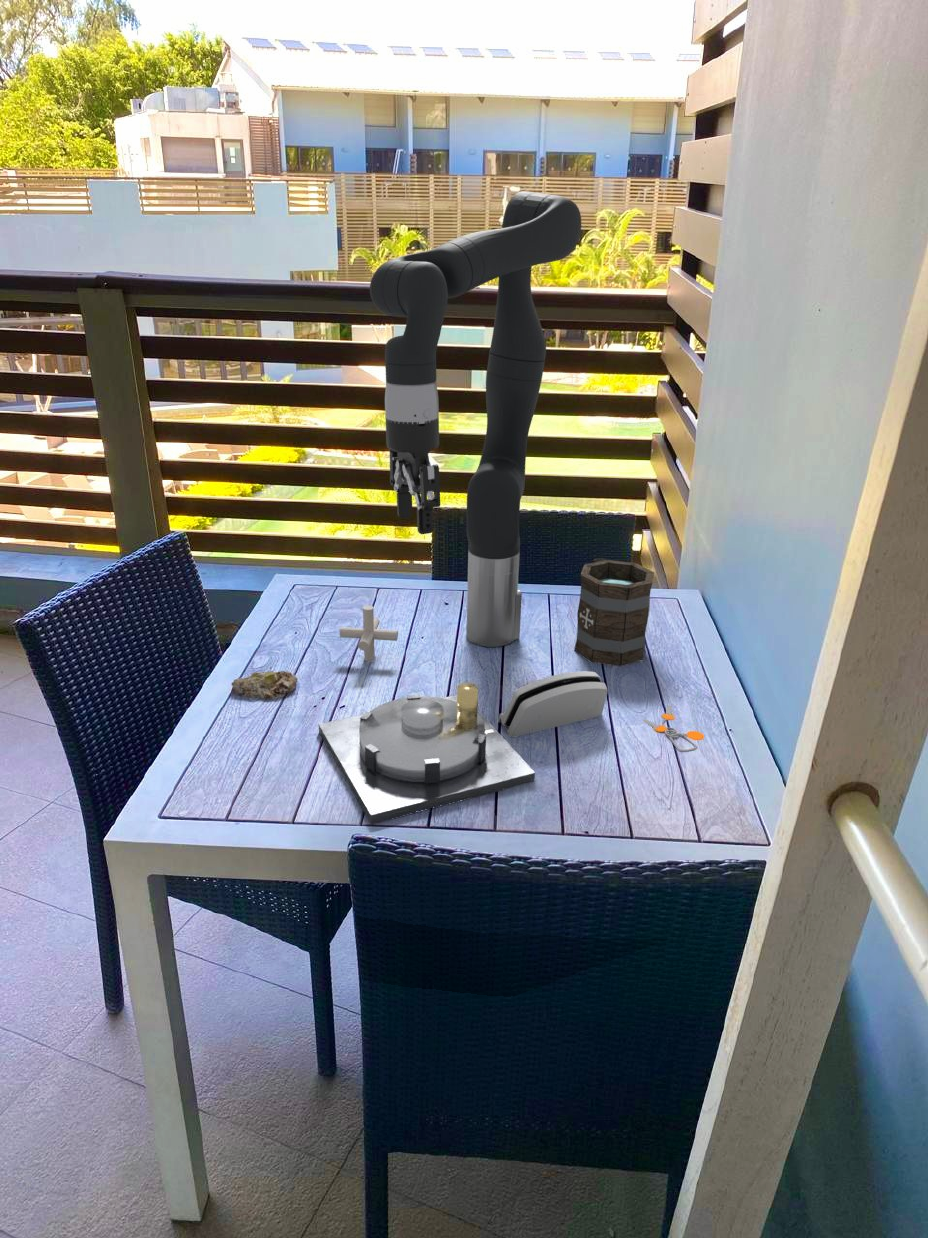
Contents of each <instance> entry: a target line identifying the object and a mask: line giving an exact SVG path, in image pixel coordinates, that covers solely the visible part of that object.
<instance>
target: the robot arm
mask: <svg viewBox="0 0 928 1238" xmlns="http://www.w3.org/2000/svg"><path fill="white" fill-rule="evenodd" d="M581 231H582V216H581V211H580V209H579V207H578V205H577V204H576V202H574V201H573V200H572V199H570V198H568V197H565V196H562V195H556V194H550V193H542V192H536V191H535V192H534V191H524V190H523V191H518V192H516V193H515V194H514V195H513V196H511V198H510V199H509V201H508V203H507V205H506V207H505V211H504V214H503V219H502V223H501V228H496V229H488V230H480V231H476V232H471V233H467V234H464V235H460V236H459V237H456V238H453V239H451V240H449V241H447V242H445V243H441V244H440V245H437V246H436V247H435V248H432V249H429V250H424V251H419V252H414V253H410V254H405V255H402V256H398V257H395V258H392V259H390V260H389V259H388V260H387V261H386V262H383V263H382V264H381V265H379V267H377V269H375V272H374V274H373V275H372V277H371V280H370V283H369V295H370V299H371V300H372V301H371V302H372V303H373V305H374V306H375V307H376V309H377V310H379V311H380V312H381V313H382V314H385V315H387V316H390V317H394V318H396V317H397V318H406V324H405V328H404V331H403V334H402V335H398V336H394V337H392V338H390V339H389V340H387V341H386V344H385V347H384V363H385V364H384V365H385V392H384V413H385V416H384V417H385V436H386V437H385V438H386V440H385V441H386V443H385V444H386V448H388V449H389V450H388V451H389V472H390V473H389V483H390V486H393V490H394V492H395V493H396V508H397V510H396V511H397V513H396V514H397V516H398V517H399V518H408V517H412V515H413V497H414V500H415V503H416V525H417V526H416V527H417V529H416V530H417V532H418V533H419V534H420V535H427V534H428V535H429V534H431V533H433V532H434V509H435V508H440V507H441V487H440V486H441V483H440V466H439V464H431V461H430V456H429V453H431V451H434V450H436V449H437V448H439V446H440V415H439V412H440V410H439V409H440V408H439V407H440V406H439V404H440V403H439V392H438V385H437V348H438V344H439V341H440V338H441V332H442V327H443V324H444V320H445V315H446V311H447V305H448V299H452V298H453V299H454V298H457V297H459V296H461V295H464V294H466V293H468V292H470V291H472V290H474V289H476V288H477V287H479V286H481V285H484V284H486V283H487V282H490V281H493V280H495V279H497V278H498V285H497V288H498V289H497V297H496V304H495V306H496V307H495V308H496V309H495V315H494V322H493V323H494V324H493V330H492V331H493V332H492V337H491V341H490V343H491V344H490V346H489V347H490V348H489V352H488V353H489V354H488V361H487V369H486V379H485V404H486V432H485V438H484V444H483V449H482V453H481V456H480V459H479V462H478V463H479V464H478V467H477V469H476V471H475V473H474V474H473V476H472V477H471V479H470V480H469V482H468V484H467V485H468V487H467V491H466V537H467V541H468V542H467V543H468V546H467V547H468V551H467V552H468V553H467V554H468V555H467V557H468V558H467V592H466V593H467V595H466V596H467V598H466V599H467V600H466V601H467V602H466V625H465V626H466V627H465V629H466V633H465V634H466V635H465V636H466V639H467V640H468V641H470V643H472V644H474V645H478V646H481V647H490V648H496V647H504V646H507V645H509V644H511V643H513V642H514V641H515V640H520V635H521V619H522V618H521V617H522V616H521V615H522V599H523V593H522V591H521V590H520V589H519V588H518V587H519V571H520V570H519V569H520V551H521V550H520V549H521V548H520V547H521V538H520V530H519V529H520V509H521V499H522V497H523V495H524V491H525V485H526V484H525V481H526V460H527V459H526V458H527V449H528V448H527V447H528V445H527V444H528V438H529V432H530V428H531V425H532V421H533V417H534V414H535V410H536V408H537V407H536V406H537V402H538V399H539V395H540V394H539V393H540V389H541V385H542V380H543V374H544V367H545V362H546V360H545V359H546V356H547V343H546V339H545V334H544V331H543V328H542V325H541V321H540V318H539V315H538V313H537V310H536V306H535V303H534V300H533V295H532V286H531V285H532V283H531V282H532V267H533V266H534V267H535V266H537V265H542V264H547V263H552V262H558V261H561V260H563V259H565V258H567V257H568V256H569V255H570V254H571V253H573V251H574V250H575V248H576V247H577V244H578V242H579V240H580V236H581V233H582V232H581Z"/></svg>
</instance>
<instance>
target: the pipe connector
mask: <svg viewBox="0 0 928 1238" xmlns="http://www.w3.org/2000/svg"><path fill="white" fill-rule="evenodd" d="M362 621H363V625H362V626H363V627H347V626H346V627H345V626H341V627H340V629H339V637H340V638H346V639H360V640H359V642H358V645H357V647H358V649H359V650H360V651H363V655H364V661H365V662H373V661H375V659H376V658H375V654H376V653H375V640H379V641H392V642H394V641H395V642H397V641H398V640H399V639H398V637H399V631H398V630H395V629H394V630H392V629H380V628H378V627H379V625H380V619H379V618H378V617H376V616H374V606H372V605H364V606H363V607H362Z"/></svg>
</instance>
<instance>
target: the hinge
mask: <svg viewBox="0 0 928 1238" xmlns="http://www.w3.org/2000/svg"><path fill="white" fill-rule="evenodd" d="M607 696H608V688H607V685H606V683H605V682H602V678H601V676H600V675H598V674H597V672H595V671H584V670H583V671H570V672H568V671H567V672H564V673H557V674H553V675H550V676H547V677H544V678H541V679H537V680H535V681H533V682H530V683H527V684H525V685H523V686H521V687H519V688H517V689H515V691H514V692H513V694H512V696H511V698H510V700H509V702H508V704H507V706H506V709H505V711H504V712H501V713H499V715H498V717H497V723H498V724H500V723H502V724H501V725H502V727H507V731H506V734H507V735H508V736H509V737H511V738H516V737H519V736H523V735H528V734H532V733H535V732H540V731H543V730H548V729H552V728H557V727H561V726H564V725H569V724H572V723H577V722H578V723H579V722H582V721H585V720H589V719H593V718H599V717H601V716H602V715H603V711H604V709H605V703H606V700H607Z"/></svg>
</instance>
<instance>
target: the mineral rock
mask: <svg viewBox="0 0 928 1238" xmlns="http://www.w3.org/2000/svg"><path fill="white" fill-rule="evenodd" d="M297 682H298V676H296V675H295V674H293V673H292V671H289V670H283V671H281V670H280V671H276V672H275V671H273V670H268V671H266V672H265V671H263V672H257V671H254V672H252V673H251V675H248V676H246V677H243V678H241V677H238V678H236V679H233V682H231V686H232V689H231V692H232V693H234V694H237V695H238V696H240V697H243V698H245V697H248V698H251V697H252V698H253V697H254V698H262V699H263V700H274V699H278V698H282V697H286V694H288V693H290V692H292V691H294V690H295V688H296V687H297Z"/></svg>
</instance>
